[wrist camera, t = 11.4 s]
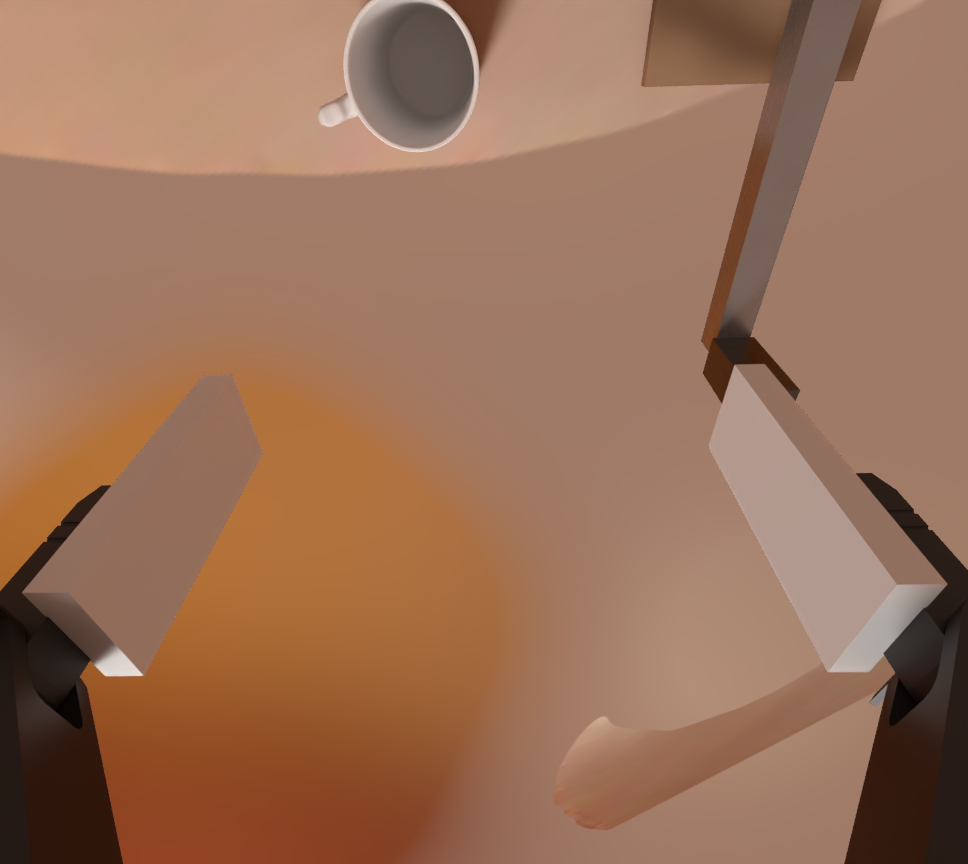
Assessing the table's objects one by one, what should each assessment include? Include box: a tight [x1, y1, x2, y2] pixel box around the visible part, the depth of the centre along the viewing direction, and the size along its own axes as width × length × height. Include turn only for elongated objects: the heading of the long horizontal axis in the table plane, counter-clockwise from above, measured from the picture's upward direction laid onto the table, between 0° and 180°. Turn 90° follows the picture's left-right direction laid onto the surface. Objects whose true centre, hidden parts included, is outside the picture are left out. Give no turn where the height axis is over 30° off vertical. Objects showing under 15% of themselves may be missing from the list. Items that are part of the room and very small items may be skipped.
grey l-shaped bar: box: [701, 0, 861, 403], centre depth 29 cm, size 26×3×9 cm, turn 1°
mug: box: [318, 0, 480, 152], centre depth 30 cm, size 10×7×12 cm, turn 110°
